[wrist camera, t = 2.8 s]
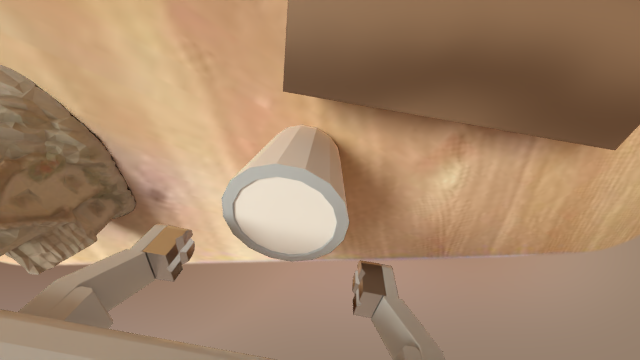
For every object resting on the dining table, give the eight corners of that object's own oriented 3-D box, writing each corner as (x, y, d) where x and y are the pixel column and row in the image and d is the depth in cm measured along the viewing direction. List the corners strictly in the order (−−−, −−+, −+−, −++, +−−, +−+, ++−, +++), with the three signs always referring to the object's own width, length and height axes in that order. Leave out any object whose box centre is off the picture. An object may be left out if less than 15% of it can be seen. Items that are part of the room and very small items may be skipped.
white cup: (367, 160, 18) (377, 226, 12) (307, 207, 21) (292, 277, 15) (299, 95, 15) (270, 134, 10) (244, 158, 18) (197, 217, 13)
